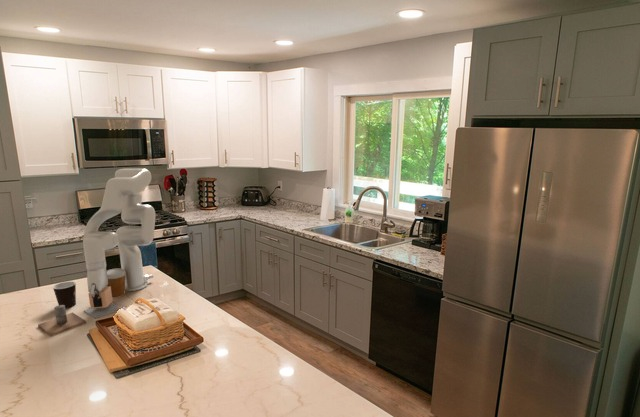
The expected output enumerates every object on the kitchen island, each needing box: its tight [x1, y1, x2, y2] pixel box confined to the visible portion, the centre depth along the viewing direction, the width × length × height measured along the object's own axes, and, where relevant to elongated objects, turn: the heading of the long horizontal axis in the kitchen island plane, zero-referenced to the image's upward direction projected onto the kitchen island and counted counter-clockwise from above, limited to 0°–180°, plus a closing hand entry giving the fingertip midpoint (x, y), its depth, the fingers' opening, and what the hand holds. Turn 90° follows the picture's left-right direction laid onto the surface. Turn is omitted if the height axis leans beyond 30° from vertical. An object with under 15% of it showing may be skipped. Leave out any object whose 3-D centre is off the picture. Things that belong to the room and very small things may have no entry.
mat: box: [83, 302, 122, 319], centre depth 174 cm, size 11×11×1 cm
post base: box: [37, 305, 87, 337], centre depth 161 cm, size 13×13×8 cm
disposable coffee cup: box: [106, 267, 126, 298], centre depth 189 cm, size 10×10×12 cm
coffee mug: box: [52, 280, 77, 310], centre depth 180 cm, size 12×9×10 cm
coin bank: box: [88, 286, 113, 309], centre depth 173 cm, size 7×7×7 cm
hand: (101, 302), depth 173 cm, fingers closed on coin bank, 6 cm apart
